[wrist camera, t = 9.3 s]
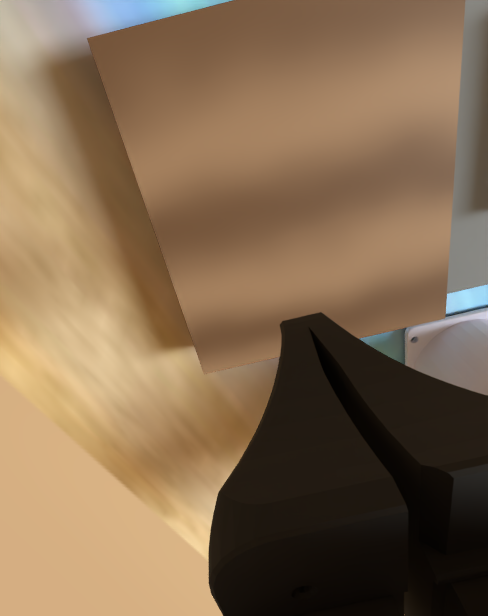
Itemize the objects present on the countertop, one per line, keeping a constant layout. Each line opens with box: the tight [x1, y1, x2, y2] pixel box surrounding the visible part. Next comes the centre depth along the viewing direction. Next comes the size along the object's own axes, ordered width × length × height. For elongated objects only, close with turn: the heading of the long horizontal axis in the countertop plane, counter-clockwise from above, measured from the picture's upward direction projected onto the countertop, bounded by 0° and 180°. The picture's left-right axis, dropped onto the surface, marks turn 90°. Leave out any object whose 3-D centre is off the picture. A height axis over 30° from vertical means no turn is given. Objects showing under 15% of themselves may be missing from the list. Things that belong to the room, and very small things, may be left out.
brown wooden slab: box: [87, 0, 465, 374], centre depth 18 cm, size 16×14×3 cm
